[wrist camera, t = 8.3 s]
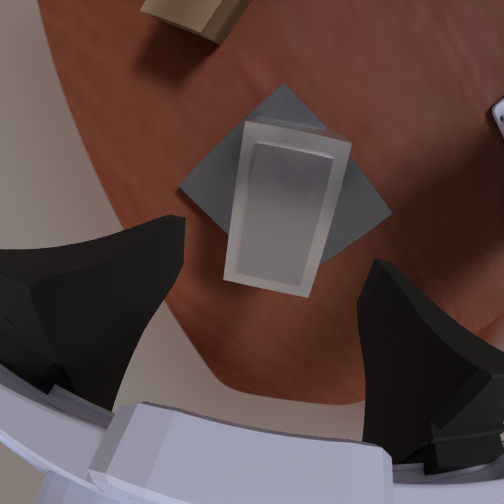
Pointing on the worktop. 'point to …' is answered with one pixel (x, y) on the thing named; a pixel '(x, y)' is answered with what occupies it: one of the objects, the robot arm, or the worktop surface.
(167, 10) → the tan cube
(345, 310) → the worktop surface
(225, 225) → the stand
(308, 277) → the block
